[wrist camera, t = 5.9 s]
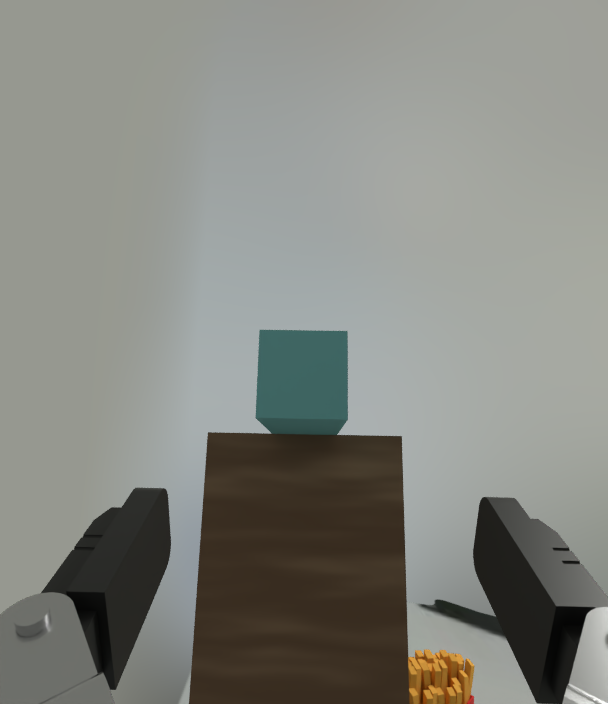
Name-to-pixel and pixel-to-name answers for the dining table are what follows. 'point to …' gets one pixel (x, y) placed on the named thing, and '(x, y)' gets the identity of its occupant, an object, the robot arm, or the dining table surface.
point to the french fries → (440, 678)
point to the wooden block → (301, 572)
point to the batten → (302, 381)
